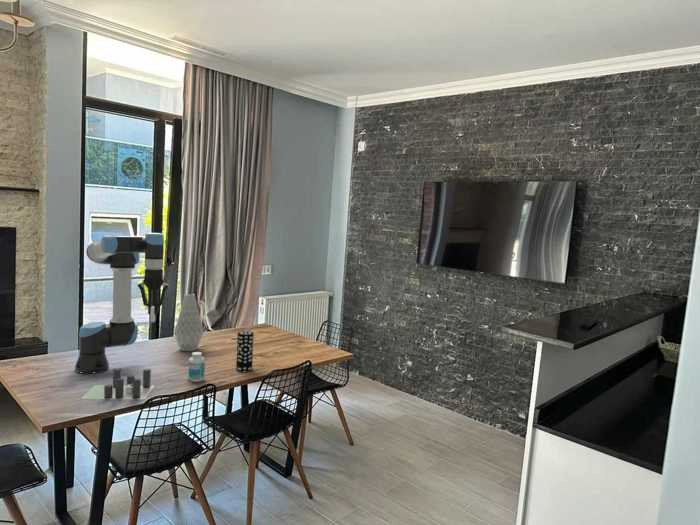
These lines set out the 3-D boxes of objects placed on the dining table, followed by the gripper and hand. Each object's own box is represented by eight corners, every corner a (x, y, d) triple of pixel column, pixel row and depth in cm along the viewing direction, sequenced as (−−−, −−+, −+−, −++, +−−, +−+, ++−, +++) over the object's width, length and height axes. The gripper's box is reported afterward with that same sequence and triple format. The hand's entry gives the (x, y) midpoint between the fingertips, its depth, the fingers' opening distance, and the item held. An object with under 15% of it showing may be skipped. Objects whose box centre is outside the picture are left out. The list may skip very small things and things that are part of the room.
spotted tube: (236, 372, 262) (238, 334, 260) (235, 367, 270) (237, 331, 268) (252, 372, 264) (254, 334, 262) (251, 367, 272) (253, 330, 270)
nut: (125, 394, 221) (125, 387, 220) (129, 389, 227) (129, 383, 226) (137, 394, 221) (137, 387, 221) (141, 389, 227) (141, 383, 227)
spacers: (101, 398, 215) (102, 380, 214) (114, 385, 231) (114, 368, 230) (141, 398, 217) (142, 380, 216) (151, 385, 233) (151, 369, 232)
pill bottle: (198, 376, 253) (199, 350, 251) (207, 380, 248) (208, 353, 247) (185, 379, 247) (186, 352, 245) (193, 383, 242) (194, 356, 241)
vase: (206, 346, 307) (207, 293, 304) (198, 353, 291) (200, 297, 288) (178, 344, 307) (179, 291, 303) (169, 352, 290) (171, 296, 287)
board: (80, 401, 213) (80, 398, 213) (94, 387, 230) (94, 385, 230) (144, 401, 217) (144, 399, 217) (154, 387, 234) (154, 385, 233)
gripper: (135, 268, 215) (134, 323, 217) (167, 270, 217) (166, 323, 219) (140, 266, 222) (139, 319, 225) (171, 268, 224) (170, 320, 226)
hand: (152, 321), depth 222 cm, fingers closed
